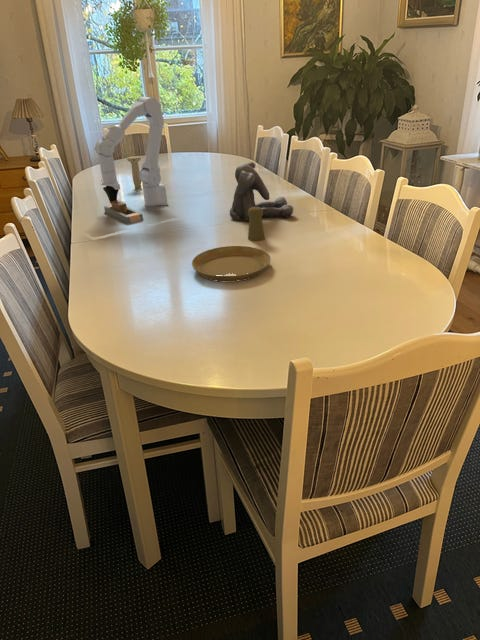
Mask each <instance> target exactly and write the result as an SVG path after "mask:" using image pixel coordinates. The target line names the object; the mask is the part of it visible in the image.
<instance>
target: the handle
mask: <svg viewBox="0 0 480 640" xmlns="http://www.w3.org/2000/svg"><path fill="white" fill-rule="evenodd" d="M141 160H142V157H141V156H139V155H136V156H135V155H134V156H128V157H127V161H128V162H130V165H131V175H132V176H131V177H132V182H133V186H134V189H135V190H136V189H137V190H139V189H142V182H141V181H140V179H139V172H140V167H139V161H141Z"/></svg>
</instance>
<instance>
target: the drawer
mask: <svg viewBox="0 0 480 640" xmlns="http://www.w3.org/2000/svg"><path fill="white" fill-rule="evenodd" d="M110 205H112V209H114V210H116V211H119V212H121V213H123V214H125V215H128V213H127V207H128V206H127V203H126V202H123V201H121V200H119V199H117V200H116V201H111V203H110Z"/></svg>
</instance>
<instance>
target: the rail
mask: <svg viewBox="0 0 480 640" xmlns="http://www.w3.org/2000/svg"><path fill="white" fill-rule="evenodd" d="M103 209H104V212H103V213H104V214H105V215H107V216H110V217H111V218H113V219H116V220H117V221H119V222H121V223H124V224H126V225H128V224H133V223H136V222H140V221H144V220H145V218H144V217H143V216H144V215H143V213H142V212H139V211H137V210H135V209H133V208H130V207H129V206H127V213H128V215H125V214H123V213H121V212H119V211H116V210H114V209H112V204H108V205H105V206H103Z"/></svg>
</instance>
